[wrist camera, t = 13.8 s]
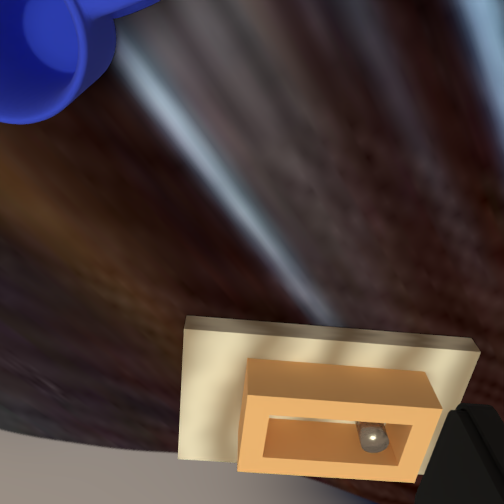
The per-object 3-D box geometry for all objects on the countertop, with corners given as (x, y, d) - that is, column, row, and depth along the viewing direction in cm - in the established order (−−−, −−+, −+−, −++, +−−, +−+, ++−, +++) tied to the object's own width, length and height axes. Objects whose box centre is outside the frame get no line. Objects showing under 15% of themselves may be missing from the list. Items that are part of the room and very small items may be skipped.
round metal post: (379, 395, 44) (392, 434, 40) (373, 414, 45) (385, 453, 41) (353, 393, 44) (364, 432, 40) (348, 412, 45) (358, 452, 41)
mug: (203, 49, 32) (186, 64, 24) (46, 110, 34) (-24, 147, 25) (151, -90, 29) (109, -133, 20) (-21, -14, 31) (-130, -22, 22)
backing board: (471, 338, 44) (480, 352, 42) (424, 458, 51) (431, 474, 49) (186, 315, 42) (183, 328, 41) (180, 442, 50) (177, 458, 48)
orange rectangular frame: (424, 371, 43) (442, 409, 39) (400, 442, 47) (414, 482, 43) (247, 357, 42) (247, 394, 38) (238, 431, 46) (237, 471, 42)
